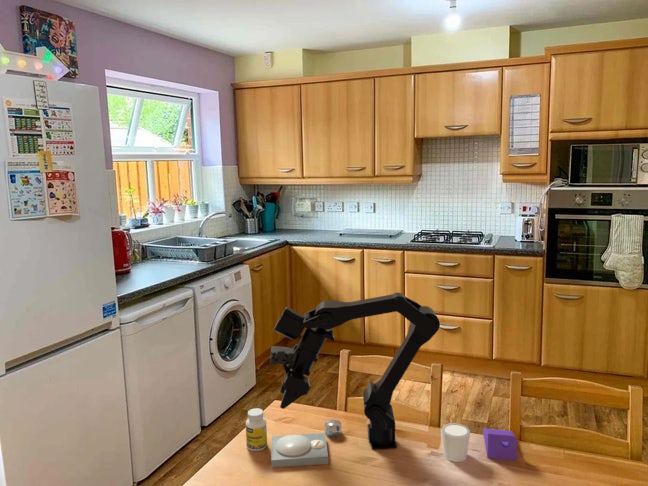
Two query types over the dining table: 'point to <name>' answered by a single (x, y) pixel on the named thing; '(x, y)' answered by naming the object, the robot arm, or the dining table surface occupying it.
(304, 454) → the scale
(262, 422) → the supplement bottle
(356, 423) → the dining table surface
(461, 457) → the white short tapered cylinder
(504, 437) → the purple box with knob
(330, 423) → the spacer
